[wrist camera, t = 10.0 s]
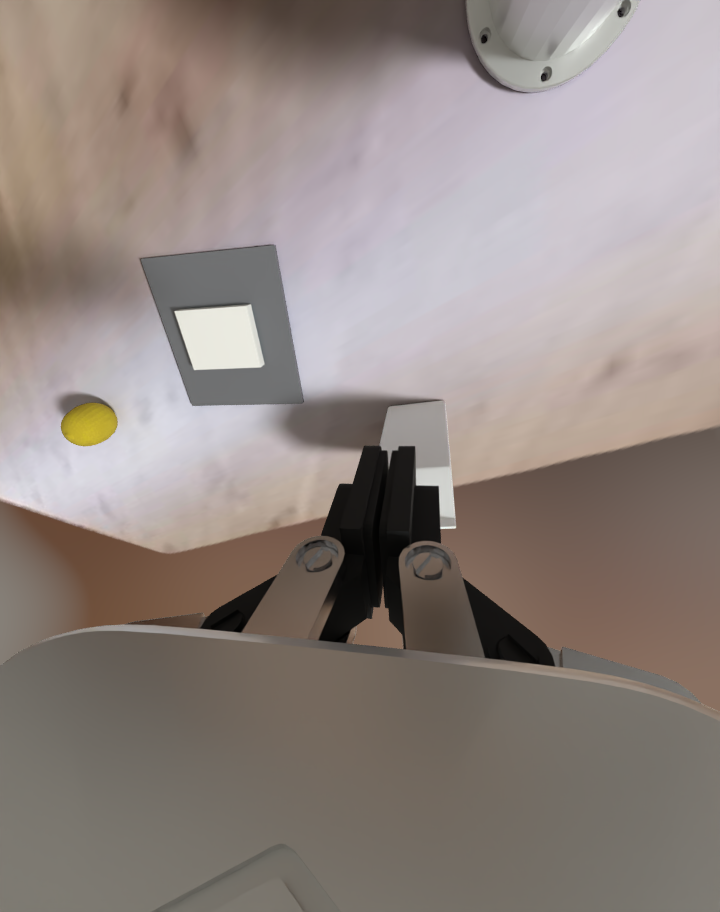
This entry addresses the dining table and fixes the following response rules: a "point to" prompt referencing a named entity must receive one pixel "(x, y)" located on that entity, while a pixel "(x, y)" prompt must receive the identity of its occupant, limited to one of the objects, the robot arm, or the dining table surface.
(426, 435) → the milk carton
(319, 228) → the dining table surface
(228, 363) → the tile
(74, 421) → the lemon
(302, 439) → the dining table surface
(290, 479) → the dining table surface
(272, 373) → the mat
